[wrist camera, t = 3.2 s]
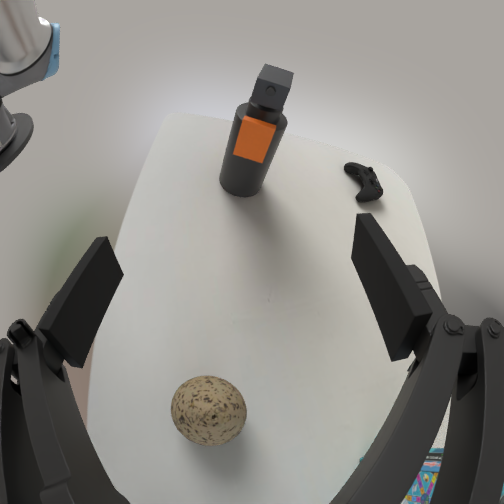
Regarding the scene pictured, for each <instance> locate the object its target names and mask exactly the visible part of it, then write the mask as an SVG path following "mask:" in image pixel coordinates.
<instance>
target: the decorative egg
mask: <svg viewBox="0 0 504 504" xmlns="http://www.w3.org/2000/svg"><path fill="white" fill-rule="evenodd" d="M171 414H172V419H173V422H174V424H175V426H176V427H177V429H178V430H179V431H180V432H181V433H182V434H183V435H184V436H185V437H186V438H187V439H189V440H191V441H193V442H195V443H198V444H201V445H207V446H214V445H220V444H224V443H227V442H229V441H230V440H232V439H233V438H235V437H236V436H237V435H238V434H239V433H240V431H241V430H242V428H243V426H244V424H245V421H246V415H247V410H246V404H245V401H244V399H243V397H242V395H241V393H240V392H239V391H238V390H237V388H236V387H234V386H233V385H232V384H231V383H229V382H228V381H226V380H224V379H221V378H218V377H214V376H200V377H196V378H193V379H190V380H188V381H187V382H185V383H184V384H182V385H181V386H180V387H179V388H178V390H177V391H176V393H175V394H174V397H173V399H172V404H171Z"/></svg>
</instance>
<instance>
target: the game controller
mask: <svg viewBox="0 0 504 504" xmlns="http://www.w3.org/2000/svg"><path fill="white" fill-rule="evenodd" d="M344 170H345V171H346V172H348V173H351V174H355V175H359V176H360V178H361V180H362V182H363V185H364V188H363V189H362V190H361V191H360V192H359V193H358V194H357V195H356V200H357V201H359V202H367V201H371V200H377V199H379V198H380V197H381V196H382V195H383V189H382V187H381V185H380V183H379V181H378V179H377V176H376V174H375V172H374V171H373V168H372V167H369V168H368V167H365V166H363V165H361V164H358V163H354V162H349V163H347V164H345V166H344Z"/></svg>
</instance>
